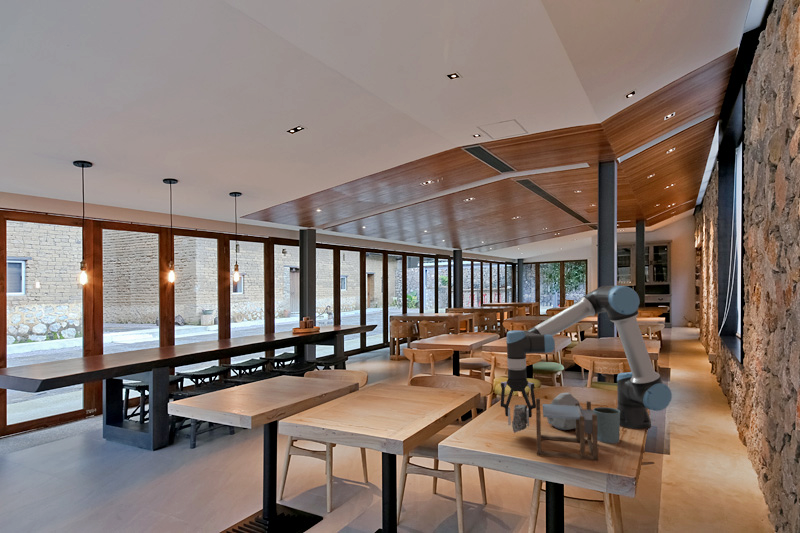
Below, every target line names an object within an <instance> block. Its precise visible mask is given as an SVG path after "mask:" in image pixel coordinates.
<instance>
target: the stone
mask: <svg viewBox="0 0 800 533" xmlns="http://www.w3.org/2000/svg"><path fill="white" fill-rule="evenodd" d="M575 403H579V404H580V401H579V400H578V399H577V398H575V396H573V395H572V393H570V392H561V393H559V394H558V395H557V396H556V397H554V398H553V399H552V401H551V402H550V404H553V405H569V406H575ZM580 409H583V407H582V405H580ZM546 419H547V423H548V424H549V425H551V427H552V426H553V428H556V429H558V430H561V431H566V430H567V431H568V430H569V431H571V430H573V429H574V430H575V429H576V419H565V418H550V417H546Z"/></svg>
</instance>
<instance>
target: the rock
mask: <svg viewBox="0 0 800 533" xmlns="http://www.w3.org/2000/svg"><path fill="white" fill-rule="evenodd" d="M527 408H528V406H527V404H515V405H514V408H513V416H512V418H513V419H512V420H511V421H512V422H511V426H512V431H513V433H514V434H515V433H518V432H521V431H523V430H525V429H527V427H528V426H527Z"/></svg>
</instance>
